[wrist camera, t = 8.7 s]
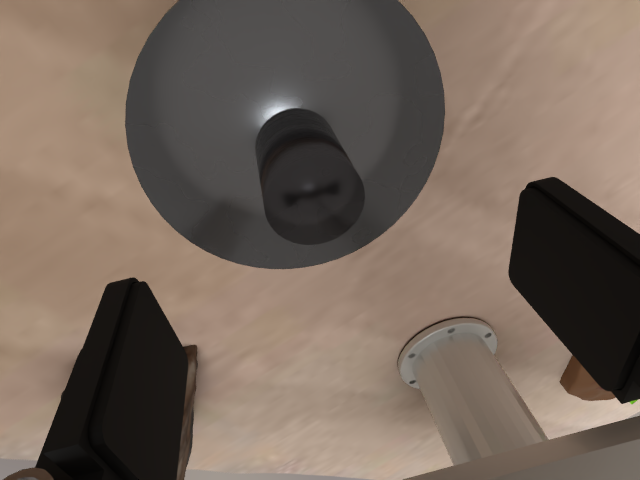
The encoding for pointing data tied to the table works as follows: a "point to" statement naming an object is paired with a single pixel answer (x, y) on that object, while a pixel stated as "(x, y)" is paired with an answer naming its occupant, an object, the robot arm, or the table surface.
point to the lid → (284, 125)
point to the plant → (583, 383)
